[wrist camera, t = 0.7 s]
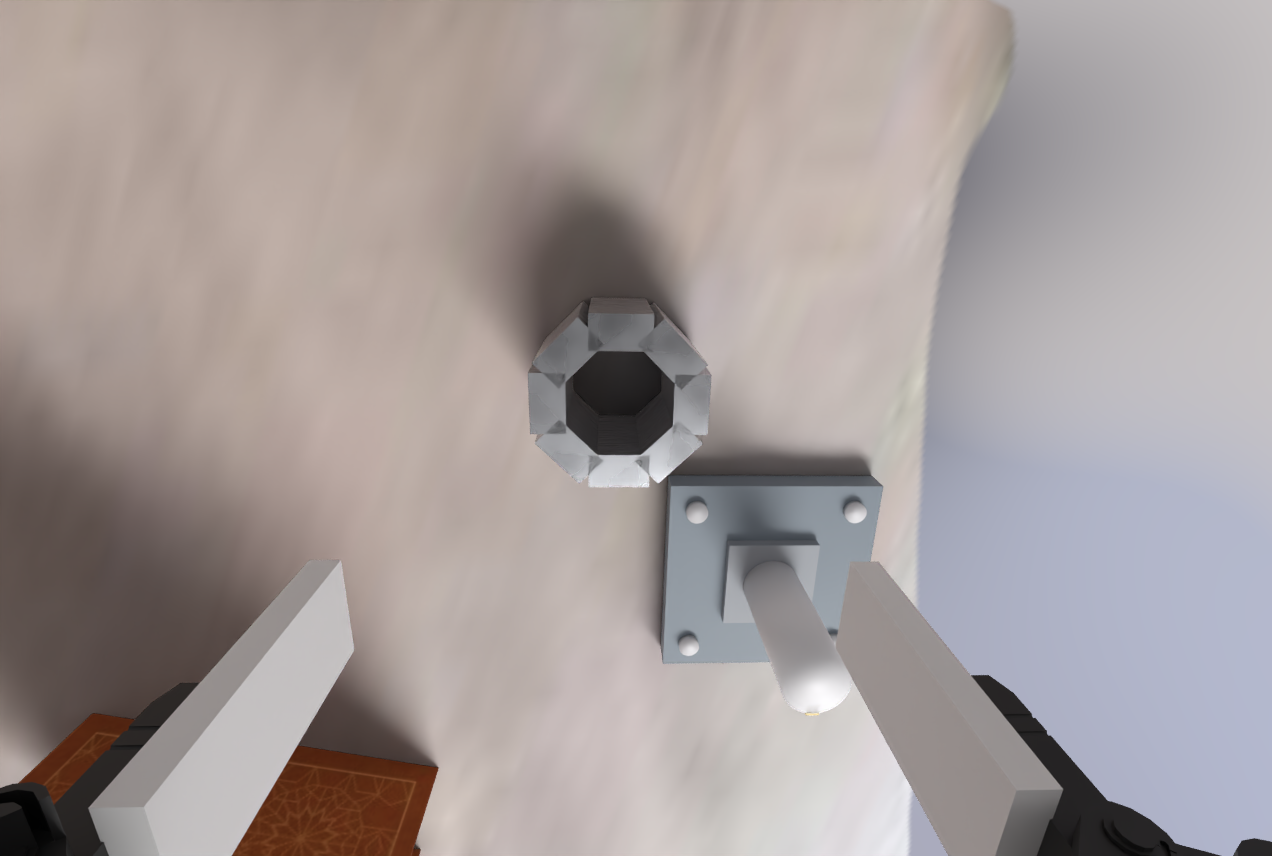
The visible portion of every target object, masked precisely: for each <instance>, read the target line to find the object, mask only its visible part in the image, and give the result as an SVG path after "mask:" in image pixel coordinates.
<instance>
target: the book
mask: <svg viewBox="0 0 1272 856" xmlns="http://www.w3.org/2000/svg"><path fill="white" fill-rule="evenodd" d="M133 721H134V719H127V718H121V717H115V716H108V715H102V714H95V713H93V714H91V715H90V716H89V717H88V718H87V719H86V720H85V721H84V722H83V723H82V724H81V725H80V726H78V727H77V728H76V729H75V730H74V731H73V732H72V733H71V734H70V735H69V736H68V737H67V738H66V739H65V740H64V741H63V742H61V743H60V744H59V745H58V746H57V747H56V748H55V749H54V750H53V751H52V752H51V753H50V754H49V755H48V756H47V757H46V758H44V759H43V760H42V761H41V762H40V763H39V764H38V765H37V766H36V767H35V768H34V769H33V770H32V771H31V772H30V773H29V774H28V775H26V776H25V777H24V778H23V779H22V780H21V781H20V782H19V783H27V782H34V783H38V784H41V785H44V786H46V788H47V790H48V792H49V794H50V796H51V799H52V801H53V804H55V803H56V802H57V801H58V800H59V799H60V798H61V797H62V796H63V795H64V794H65V793H66V791H67V790H68V789H69V788H70V787H71V786H72V785H73V784H74V783H75V782H76V781H77V780H78V779H79V778H80V777H81V776H82V775H83V774H84V773H85V772H86V771H87V770H88V768H89V767H90V766H91V765H92V764H93V763H94V762H95V761H96V760H97V759H98V758H99V757H100V756H101V755H102V754H103V753H104V752H105V751H106V750H109V749H110V747H111V744H112V743H113V742H114V741H115V740H116V739H117V738H118V737H119V736H120V735H121V734H122V733H123V732H124V731H128V729H129V726H130V725H131V724H132V722H133ZM437 772H438V768H437V767H430V766H424V765H418V764H411V763H405V762H399V761H392V760H386V759H380V758H373V757H367V756H361V755H355V754H348V753H342V752H336V751H329V750H323V749H317V748H310V747H304V746H298V745H297V747H296V749H295V750H294V752H293V754H292V755H291V757H290V759H289V760H288V762H287V764H286V766H285V767H284V769H283V771H282V772H281V774H280V776H279V777H278V779H277V781H276V782H275V784H274V786H273V787H272V789H271V791H270V792H269V794H268V796H267V797H266V799H265V801H264V802H263V804H262V806H261V807H260V809H259V811H258V812H257V814H256V816H255V817H254V819H253V821H252V823H251V824H250V826H249V828H248V829H247V831H246V833H245V834H244V836H243V838H242V839H241V841H240V843H239V844H238V846H237V848H236V849H235V851H234V853H233V854H232V856H419V854H420V851H421V850H420V849H414V845H415V842H416V839H417V836H418V832H419V829H420V826H421V823H422V820H423V816H424V813H425V810H426V807H427V804H428V800H429V797H430V794H431V791H432V788H433V784H434V781H435V778H436V775H437Z"/></svg>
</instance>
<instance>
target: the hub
mask: <svg viewBox="0 0 1272 856" xmlns="http://www.w3.org/2000/svg"><path fill="white" fill-rule="evenodd" d="M597 351H636V352H645V353H646V354H647V355H648V356H649V357H650V359H651V360H652V361H653V362H654V363H655V364H656V365H657V366H658V367H659V368H660V369H661V370H662V382H661V392H660V393H659V394H658V395H657V396H656V397H655V398H653V399H652V400H651V401H650V402H649V403H648V404H647V405H646V406H645V407H644V408H643V409H642V410H640V411H639V412H638V413H637V414H636V415H635V416H622V415H598V414H597V413H596V412H595V411H594V410H593V409H592V408H591V407H590V406H589V405H588V404H587V403H586V402H585V401H584V400H583V399H582V398H581V397H579V396H578V395H577V394H576V393H575V392H574V391H573V374H574V373H575V372H577V371H578V370H579V369H580V368H581V367H582V366H583V365H584V364H585V363H586V362H587V361H588V360H589V359H590V358H591V357H592V356H593V355H594V354H595V353H596V352H597ZM532 364H533V365H532V366H531V368H530V370H529V372H528V389H529V415H530V434H538V435H537V438H536V441H535V444H536V445H537V446H538V447H539V448H540V449H542V450H543V451H544V452H545V453H546V454H547V455H548V456H549V457H550V458H551V459H553V460H554V461H555V462H556V463H557V464H558V465H559V466H560V467H561V468H563V469H564V470H565V471H566V472H567V473H568V474H569V475H570V476H571V477H572V478H574V479H575V480H576V481H577V482H578V483H580V482H581V481H582V480H584V479H585V478H586V477H587V476H588V475H589V487H649V475H650V476H651V477H652V478H653V479H654V480H655V481H656V482H657V483H660V482H661V481H662V480H663V479H664V478H665V477H666V476H667V475H669V474H670V473H671V472H672V471H673V470H674V469H675V468H676V467H678V466H679V465H680V464H681V463H682V462H683V461H684V460H686V459H687V458H688V457H689V456H690V455H691V454H692V453H693V452H695V451H696V450H697V449H698V448H699V447H700V446H701V445H702V444H703V443H702V441H701V439H700V436H699V435H707V434H708V419H709V404H710V389H711V374H710V372H709V371H708V370H707V368H706V366H708V365H707V363H706V362H705V360H704V359H703V358H702V356H701V355H700V354H699V352H698V351H697V350H696V348H695V347H694V346H693V344H692V343H691V342H690V340H689V339H688V338H687V337H686V336H685V335H684V334H683V333H682V332H681V331H680V330H679V328H678V327H677V326H676V325H675V324H674V323H673V322H672V321H671V320H670V319H669V318H668V317H667V316H666V315H665V313H664V312H663V311H662V310H661V309H660V308H659V307H658V306H657V305H656V304H655V303H654V302H653V303H652V304H651V305H650V306H649V304H648V302H647V300H646V298H599V297H591V302H590V306H588V305H587V304H586V303H585V302H584V301H582V302H581V303H580V304H579V305H578V306H577V307H576V308H575V309H574V310H573V311H572V312H571V313H570V314H569V315H568V316H567V317H566V318H565V319H564V320H563V321H562V322H561V323H560V324H559V325H558V326H557V327H556V328H555V329H554V330H553V331H552V332H551V333H550V334H549V335H548V336H547V337H546V338H545V340H544V342H543V344H542V346H541V347H540V349H539V351H538V353H537V355H536V356H535V358H534V360H533V362H532Z"/></svg>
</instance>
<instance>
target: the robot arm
mask: <svg viewBox="0 0 1272 856" xmlns="http://www.w3.org/2000/svg"><path fill="white" fill-rule="evenodd" d="M835 648H836V650H837V652H838V653H839V655H840V657H841V659H842V661H843V663H844V664H845V666H846V668H847V670H848V672H849V674H850V675H851V677H852V679H853V681H854V683H855V685H856V687H857V688H858V690H859V692H860V694H861V696H862V698H863V699H864V701H865V703H866V705H867V707H868V709H869V710H870V712H871V714H872V716H873V718H874V720H875V721H876V723H877V725H878V727H879V729H880V731H881V733H882V734H883V736H884V738H885V740H886V742H887V744H888V745H889V747H890V749H891V751H892V753H893V755H894V756H895V758H896V760H897V762H898V764H899V766H900V768H901V769H902V771H903V773H904V775H905V777H906V779H907V780H908V782H909V784H910V786H911V788H912V790H913V791H914V793H915V795H916V797H917V799H918V801H919V802H920V804H921V806H922V808H923V810H924V812H925V814H926V815H927V817H928V819H929V821H930V823H931V825H932V826H933V828H934V830H935V832H936V834H937V836H938V837H939V839H940V841H941V843H942V845H943V847H944V848H945V850H946V852H947V854H948V856H1220V855H1216V854H1212V853H1209V852H1205V851H1201V850H1197V849H1194V848H1190V847H1186V846H1182V845H1179V844H1175V843H1174V842H1173V840H1172V839H1171V838H1170V837H1169V836H1168V834H1167V833H1166V832H1164V831H1163V830H1162V829H1161V828H1160V827H1158V826H1157V825H1156V824H1155V823H1153V822H1152V821H1151V820H1150V819H1148V818H1146V817H1145V816H1143V815H1141V814H1140V813H1138V812H1136V811H1134V810H1133V809H1131V808H1128V807H1125V806H1123V805H1120V804H1117V803H1114V802H1110V801H1107V800H1106V798H1105V797H1104V796H1103V795H1102V794H1101V793H1100V792H1099V790H1098V789H1097V788H1096V787H1095V786H1094V785H1093V784H1092V782H1091V781H1090V780H1089V779H1088V778H1087V777H1086V776H1085V775H1084V773H1083V772H1082V771H1081V770H1080V769H1079V768H1078V767H1077V765H1076V764H1075V763H1074V762H1073V761H1072V760H1071V758H1070V757H1069V756H1068V755H1067V754H1066V753H1065V751H1064V750H1063V749H1062V748H1061V747H1060V746H1059V745H1058V743H1057V742H1056V741H1055V740H1054V739H1053V738H1052V737H1051V736H1048V735H1047V731H1046V730H1045V729H1044V727H1043V726H1042V725H1041V724H1040V723H1039V722H1038V721H1037V719H1036V718H1033V717H1032V714H1031V713H1030V711H1029V710H1028V709H1027V708H1026V707H1025V706H1024V704H1022V702H1021V701H1020V700H1019V699H1018V698H1017V696H1016V695H1015V694H1014V693H1013V692H1011V691H1010V690H1009V689H1007V688H1006V687H1004V686H1003V685H1002V684H1000V683H999V682H997V681H996V680H995V679H993V678H992V677H990V676H989V675H970V674H969V673H968V671H967V670H966V669H965V668H964V667H963V665H962V664H961V663H960V662H959V660H958V659H957V658H956V657H955V655H954V654H953V653H952V652H951V650H950V649H949V648H948V647H947V645H946V644H945V643H944V642H943V641H942V639H941V638H940V637H939V636H938V634H937V633H936V632H935V631H934V630H933V628H932V627H931V626H930V625H929V623H928V622H927V621H926V620H925V619H924V617H923V616H922V615H921V613H920V612H919V611H918V610H917V609H916V607H915V606H914V605H913V604H912V602H911V601H910V600H909V599H908V597H907V596H906V595H905V594H904V593H903V591H902V590H901V589H900V588H899V586H898V585H897V584H896V583H895V581H894V580H893V579H892V578H891V576H890V575H889V574H888V573H887V572H886V570H885V569H884V568H883V567H882V565H881V564H880V563H879V562H850V566H849V572H848V578H847V583H846V589H845V595H844V601H843V606H842V612H841V618H840V623H839V629H838V635H837V641H836V646H835ZM353 651H354V643H353V637H352V630H351V623H350V617H349V610H348V603H347V597H346V590H345V583H344V577H343V570H342V563H341V560H309V561H308V562H307V563H306V565H305V566H304V567H303V568H302V569H301V570H300V571H299V572H298V573H297V575H296V576H295V577H294V578H293V579H292V580H291V581H290V582H289V584H288V585H287V586H286V587H285V588H284V589H283V590H282V591H281V593H280V594H279V595H278V596H277V597H276V598H275V599H274V600H273V602H272V603H271V604H270V605H269V606H268V607H267V608H266V609H265V610H264V612H263V613H262V614H261V615H260V616H259V617H258V618H257V619H256V621H255V622H254V623H253V624H252V625H251V626H250V627H249V628H248V630H247V631H246V632H245V633H244V634H243V635H242V636H241V637H240V639H239V640H238V641H237V642H236V643H235V644H234V645H233V646H232V647H231V649H230V650H229V651H228V652H227V653H226V654H225V655H224V656H223V658H222V659H221V660H220V661H219V662H218V663H217V664H216V665H215V667H214V668H213V669H212V670H211V671H210V672H209V673H208V674H207V676H206V677H205V678H204V679H203V680H202V681H201V682H200V683H180V684H179V685H177V686H176V687H174V688H173V689H171V690H170V691H168V692H167V693H165V694H164V695H162V696H161V697H159V698H158V699H156V700H155V701H153V702H152V703H151V704H150V705H149V706H148V707H147V708H146V709H145V710H144V711H143V712H142V713H141V714H140V715H139V716H138V717H137V718H136V719H135V720H134V721H133V722H132V724H131V725H130V726H129V729H128V731H124V732H123V733H122V734H121V735H120V736H119V737H118V738H117V739H116V740H115V741H114V742H113V743H112V744H111V747H110V749H109V750H106V751H105V752H104V753H103V754H102V755H101V756H100V757H99V758H98V759H97V760H96V761H95V762H94V763H93V764H92V765H91V766H90V767H89V768H88V770H87V771H86V772H85V773H84V774H83V775H82V776H81V777H80V778H79V779H78V780H77V781H76V782H75V783H74V784H73V785H72V786H71V787H70V788H69V789H68V790H67V791H66V793H65V794H64V795H63V796H62V797H61V798H60V799H59V800H58V801H57V802H56V803H55V804H53V801H52V799H51V796H50V794H49V792H48V790H47V788H46V786H44V785H41V784H38V783H34V782H27V783H18V784H11V785H8V786H5V787H2V788H0V856H232V854H233V853H234V851H235V849H236V848H237V846H238V844H239V843H240V841H241V839H242V838H243V836H244V834H245V833H246V831H247V829H248V828H249V826H250V824H251V823H252V821H253V819H254V817H255V816H256V814H257V812H258V811H259V809H260V807H261V806H262V804H263V802H264V801H265V799H266V797H267V796H268V794H269V792H270V791H271V789H272V787H273V786H274V784H275V782H276V781H277V779H278V777H279V776H280V774H281V772H282V771H283V769H284V767H285V766H286V764H287V762H288V760H289V759H290V757H291V755H292V754H293V752H294V750H295V749H296V747H297V745H298V744H299V742H300V740H301V739H302V737H303V735H304V734H305V732H306V730H307V729H308V727H309V725H310V724H311V722H312V720H313V719H314V717H315V715H316V714H317V712H318V710H319V708H320V707H321V705H322V703H323V702H324V700H325V698H326V697H327V695H328V693H329V692H330V690H331V688H332V687H333V685H334V683H335V682H336V680H337V678H338V677H339V675H340V673H341V672H342V670H343V668H344V667H345V665H346V663H347V662H348V660H349V658H350V657H351V655H352V653H353ZM1233 856H1272V842H1270V841H1265V840H1260V839H1255V838H1254V839H1249V840H1243V841H1241V843H1240V844H1239V846H1238V848H1237V850H1236V852H1235V853H1234V855H1233Z"/></svg>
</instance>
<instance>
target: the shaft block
mask: <svg viewBox="0 0 1272 856" xmlns="http://www.w3.org/2000/svg"><path fill="white" fill-rule="evenodd" d="M882 491H883V486H882V485H881V484H880V483H879V482H878V481H877V480H876V479H875V478H874V477H873V476H725V475H668V495H667V518H666V540H665V563H664V586H663V608H662V631H661V653H662V660H663V664H674V663H741V662H770V663H771V666H772V668H773V671H774V674H775V676H776V679H777V682H778V684H779V687H780V690H781V692H782V695H783V698H784V700H785V701H786V703H787V704H788V705H789V706H790V707H792V708H793V709H795V710H797V711H799V712H803V713H805V714H806V715H819V713H821V712H825V711H828V710H830V709H832V708H834V707H836V706H837V705H839V704H840V703H841V702H842V701H843V700H844V699H845V698H846V696H847V695H848V693H849V691H850V689H851V684H852V678H851V675H850V674H849V672H848V670H847V668H846V666H845V664H844V663H843V661H842V659H841V657H840V655H839V653H838V652H837V650H836V648H835V646H836V641H837V635H838V629H839V623H840V618H841V612H842V606H843V601H844V595H845V589H846V583H847V578H848V572H849V566H850V562H870V560H871V554H872V548H873V543H874V537H875V531H876V525H877V520H878V514H879V508H880V502H881V497H882Z"/></svg>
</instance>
